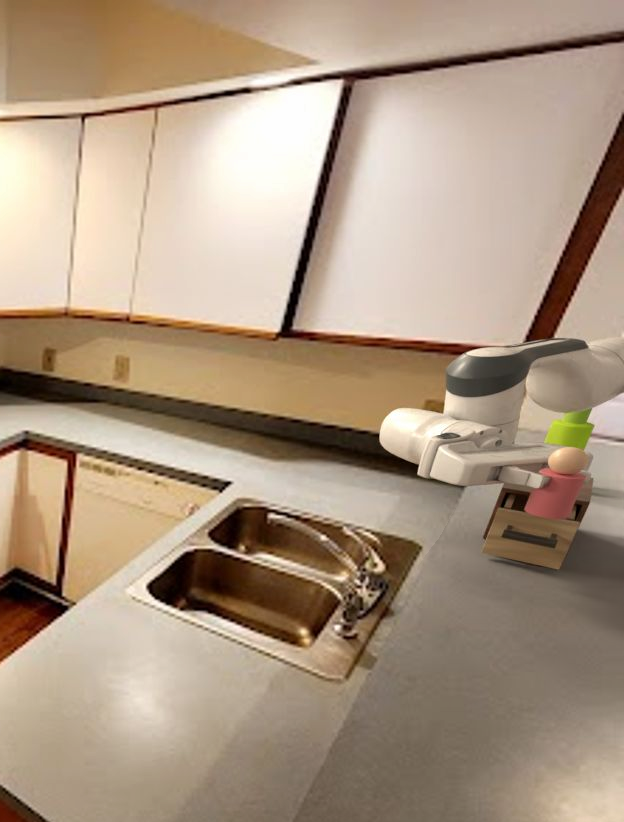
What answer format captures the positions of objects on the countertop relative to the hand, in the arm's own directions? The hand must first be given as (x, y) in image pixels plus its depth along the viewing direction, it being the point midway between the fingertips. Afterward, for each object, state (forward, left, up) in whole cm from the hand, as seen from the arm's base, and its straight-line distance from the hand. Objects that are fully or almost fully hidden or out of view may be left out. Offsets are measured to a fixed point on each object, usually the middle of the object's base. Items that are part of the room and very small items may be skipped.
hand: (565, 481), depth 86 cm
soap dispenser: (-15, -54, -17) cm, 59 cm away
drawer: (-3, -13, -16) cm, 21 cm away
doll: (0, -1, -5) cm, 5 cm away
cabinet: (-6, -24, -17) cm, 30 cm away
